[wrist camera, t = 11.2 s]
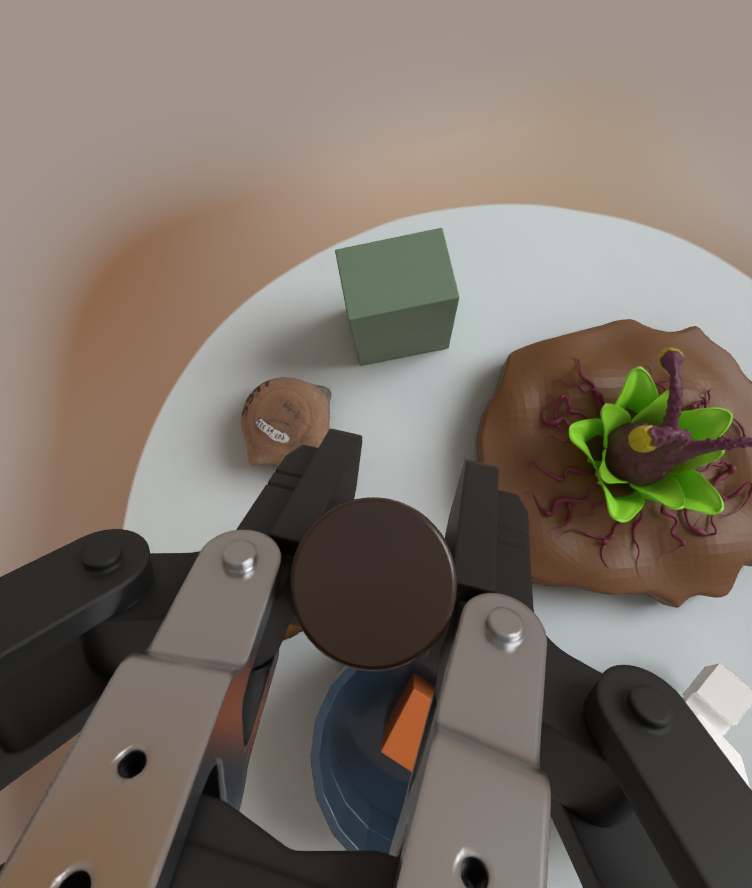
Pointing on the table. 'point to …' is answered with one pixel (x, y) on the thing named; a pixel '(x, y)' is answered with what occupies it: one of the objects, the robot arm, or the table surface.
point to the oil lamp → (284, 419)
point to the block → (407, 722)
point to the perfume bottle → (720, 706)
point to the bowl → (361, 755)
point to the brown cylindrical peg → (373, 584)
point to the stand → (399, 295)
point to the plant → (627, 459)
